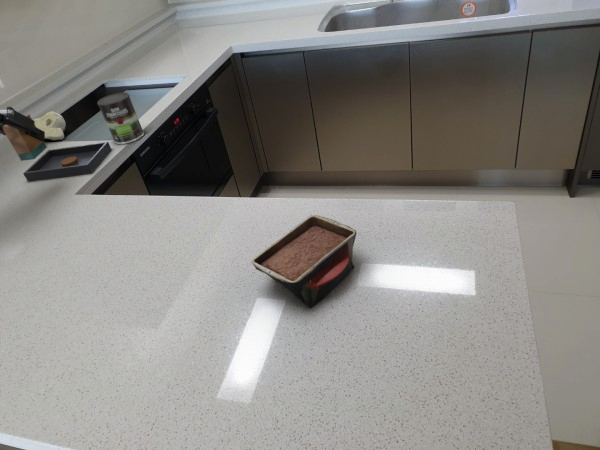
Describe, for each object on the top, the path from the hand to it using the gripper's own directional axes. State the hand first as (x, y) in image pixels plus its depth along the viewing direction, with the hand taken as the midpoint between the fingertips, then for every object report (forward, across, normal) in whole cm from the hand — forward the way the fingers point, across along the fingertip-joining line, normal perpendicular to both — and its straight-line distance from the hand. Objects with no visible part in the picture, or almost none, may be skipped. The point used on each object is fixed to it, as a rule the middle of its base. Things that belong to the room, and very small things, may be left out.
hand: (35, 137), depth 129 cm
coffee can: (+30, +12, +8) cm, 33 cm away
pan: (+18, -2, -3) cm, 19 cm away
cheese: (+36, -24, +14) cm, 45 cm away
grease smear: (+18, -2, -2) cm, 18 cm away
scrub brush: (0, 0, -5) cm, 5 cm away
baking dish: (-26, +78, -46) cm, 94 cm away
